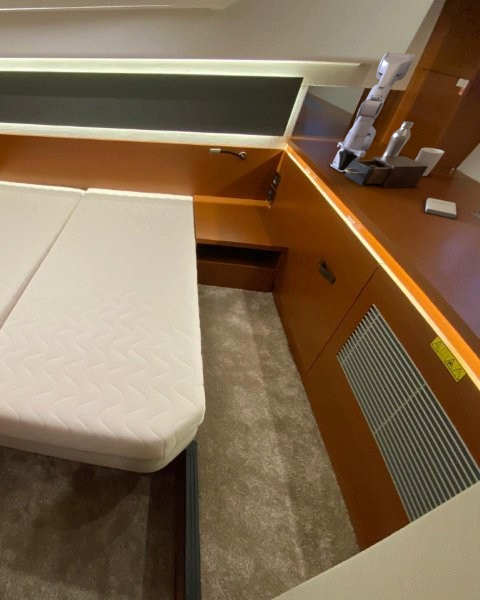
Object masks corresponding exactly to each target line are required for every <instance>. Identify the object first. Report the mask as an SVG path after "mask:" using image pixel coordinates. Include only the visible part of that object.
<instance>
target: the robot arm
mask: <svg viewBox="0 0 480 600" xmlns="http://www.w3.org/2000/svg"><path fill="white" fill-rule="evenodd" d="M416 56H417V55H416V53H401V52H399V53H398V52H386V53H385V54H383V57H382V58H381V60H380V62H379V65H378V67H377V71H376V74H375V75H376V76H375V78H376V79H378V80H379V82H378V83H377V84H375V85H374V86H373V87H372V88H371V90H370V91H369V93H368V95H367V97H366V98H365V100H363V101H362V103H361V104H360V107H359V108H358V111H357V113H356V117H355V119H354V123H353V125H352V127H351V128H350V129H349V131H348V132H347V134H346V136H345V138H344V141H339V142H338V143H337V146H336V147H337V148H340V149H339V150H338V151H337V153H336V154H335V157H334V159H333V161H332V163H331V164H329V166H330V167H332V168H333V169H335V170H337V171H338V172H340V173H346V172H345V171H343V170H345V169H346V168H348V167H349V165H350V163H351V162H352V161H353V160H354V159H355V160H357V161H359V160H361V158H365V156H366V154H367V152H366V151H367V150H369V149H370V147H371V145H372V142H373V141H374V139H375V136H376V134H377V130H376V129H375V128H374V126H373V124H374V122H375V120H376V118H378V116H379V115H380V113H381V110H382V109H383V106H384V103H385V101H386V99H387V97H388V95H389V93H390V91H391V88H392V87H393V86H394V84H395V83H396V82H398V81H401V80H403V79H404V78H405V77H406V76H407V73H408V71H409V70H410V68H411V66H412V64H413V62H414V60H415V58H416Z"/></svg>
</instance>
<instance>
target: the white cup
mask: <svg viewBox="0 0 480 600" xmlns="http://www.w3.org/2000/svg"><path fill="white" fill-rule="evenodd" d="M444 154H445V151H444V150H442V149H439V148H433V147H422V148H421V149H420V150H419V152H418V154H417V155H416V158H415V159H414V161H417V162H419V163H421V164H424V165H426V166H428V167H427V169H426V170H425V172H424V174H423V175H422V177H427V176H429V174H430V173H431V171H433V169H434V168H435V166H436V165H437V164H438V162H439V161H440V160H441V158H442V157H443V156H444Z"/></svg>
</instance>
